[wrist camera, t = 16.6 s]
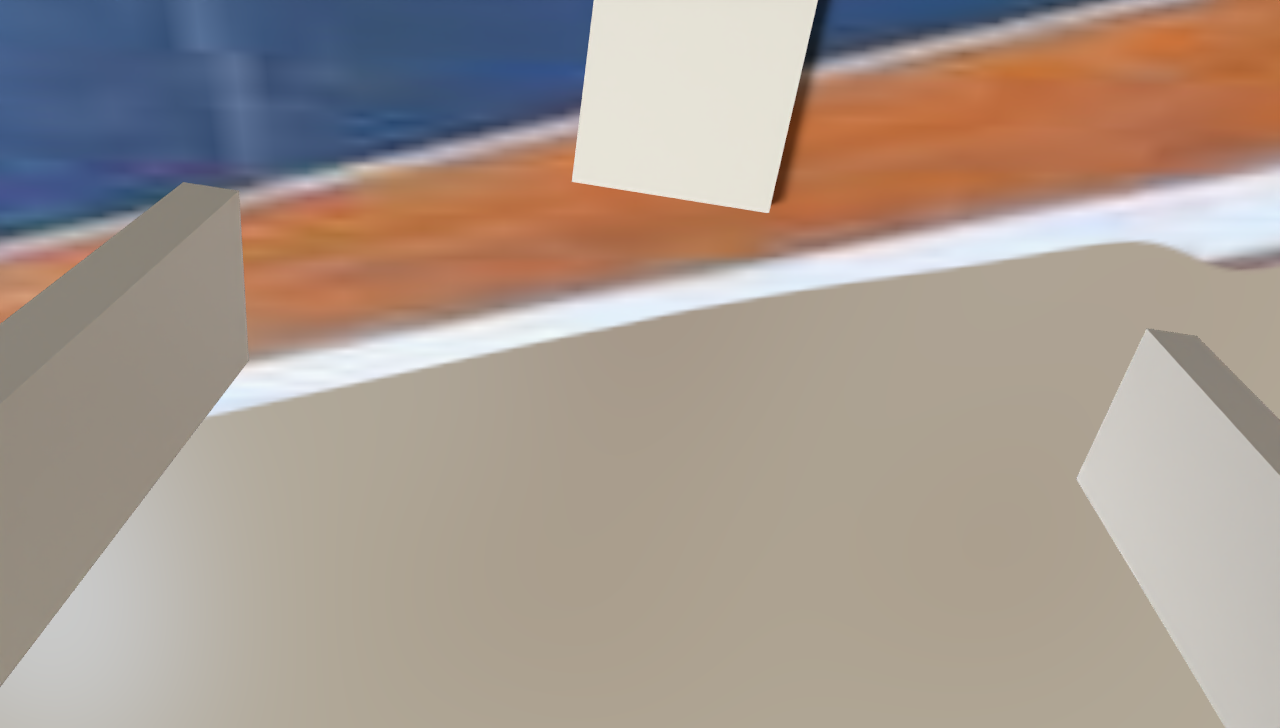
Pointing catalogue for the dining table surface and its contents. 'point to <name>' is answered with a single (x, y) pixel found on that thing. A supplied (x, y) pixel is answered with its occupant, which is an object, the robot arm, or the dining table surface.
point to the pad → (691, 97)
